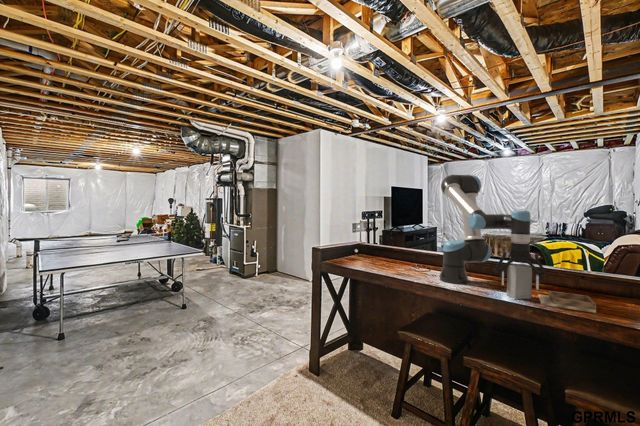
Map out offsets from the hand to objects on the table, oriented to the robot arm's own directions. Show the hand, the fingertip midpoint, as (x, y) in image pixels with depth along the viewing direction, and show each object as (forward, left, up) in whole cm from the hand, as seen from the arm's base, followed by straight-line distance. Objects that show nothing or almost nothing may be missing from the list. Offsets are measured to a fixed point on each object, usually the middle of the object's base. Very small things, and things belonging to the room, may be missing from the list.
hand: (519, 286), depth 137 cm
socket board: (+17, 0, -5) cm, 18 cm away
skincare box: (0, 0, -5) cm, 5 cm away
